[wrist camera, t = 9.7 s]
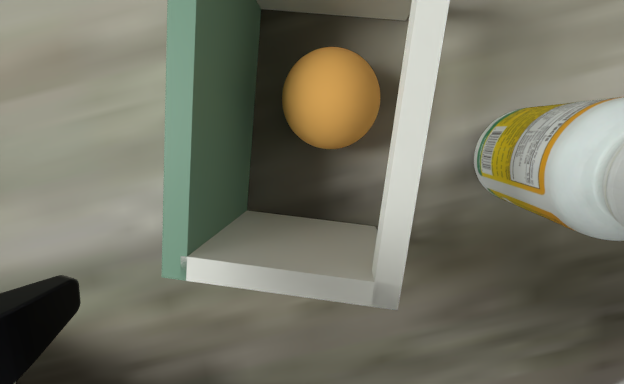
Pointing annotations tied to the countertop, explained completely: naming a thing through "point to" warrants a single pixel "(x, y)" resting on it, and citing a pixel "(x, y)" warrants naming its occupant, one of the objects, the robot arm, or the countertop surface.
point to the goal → (237, 155)
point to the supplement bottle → (560, 164)
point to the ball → (331, 98)
